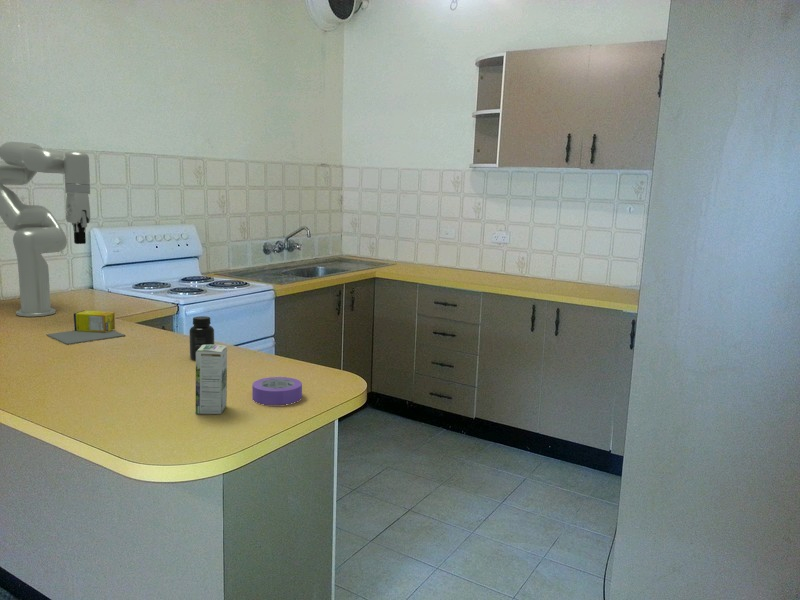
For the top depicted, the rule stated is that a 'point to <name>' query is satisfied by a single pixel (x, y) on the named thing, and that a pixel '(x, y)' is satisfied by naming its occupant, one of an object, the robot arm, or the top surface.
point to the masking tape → (276, 391)
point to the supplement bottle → (200, 334)
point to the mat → (82, 336)
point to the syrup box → (211, 379)
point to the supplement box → (94, 321)
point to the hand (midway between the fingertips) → (80, 243)
